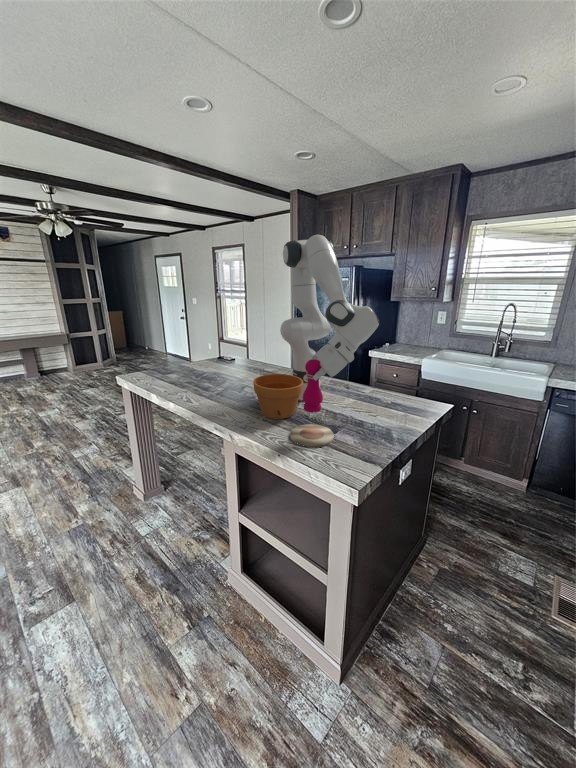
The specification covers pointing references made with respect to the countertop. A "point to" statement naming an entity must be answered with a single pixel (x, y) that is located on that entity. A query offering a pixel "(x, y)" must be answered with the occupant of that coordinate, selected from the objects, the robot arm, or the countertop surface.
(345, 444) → the countertop surface
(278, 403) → the flower pot
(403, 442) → the countertop surface
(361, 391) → the countertop surface
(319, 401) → the pepper mill
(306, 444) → the disc
